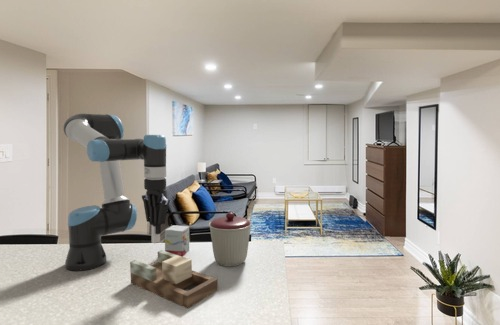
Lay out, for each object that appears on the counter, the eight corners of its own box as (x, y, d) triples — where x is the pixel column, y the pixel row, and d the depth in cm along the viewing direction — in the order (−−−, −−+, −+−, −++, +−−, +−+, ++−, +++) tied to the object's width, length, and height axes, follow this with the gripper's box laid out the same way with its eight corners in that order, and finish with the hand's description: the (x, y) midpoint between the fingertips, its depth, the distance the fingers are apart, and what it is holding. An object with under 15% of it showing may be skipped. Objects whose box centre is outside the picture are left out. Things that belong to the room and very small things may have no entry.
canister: (255, 255, 139) (255, 208, 137) (246, 272, 121) (246, 219, 119) (216, 252, 142) (216, 206, 141) (202, 268, 125) (201, 216, 123)
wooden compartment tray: (130, 283, 112) (130, 261, 111) (162, 269, 123) (161, 250, 123) (187, 308, 95) (186, 283, 95) (217, 290, 107) (217, 267, 106)
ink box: (182, 257, 137) (181, 230, 136) (164, 255, 138) (163, 229, 137) (190, 250, 145) (189, 225, 144) (173, 249, 147) (172, 224, 146)
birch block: (162, 278, 107) (162, 261, 106) (178, 271, 113) (177, 255, 112) (176, 284, 103) (175, 266, 102) (191, 276, 109) (191, 259, 108)
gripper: (134, 177, 112) (136, 240, 114) (158, 181, 104) (159, 249, 107) (152, 175, 118) (153, 235, 120) (175, 178, 111) (176, 243, 113)
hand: (155, 241), depth 114 cm, fingers closed
